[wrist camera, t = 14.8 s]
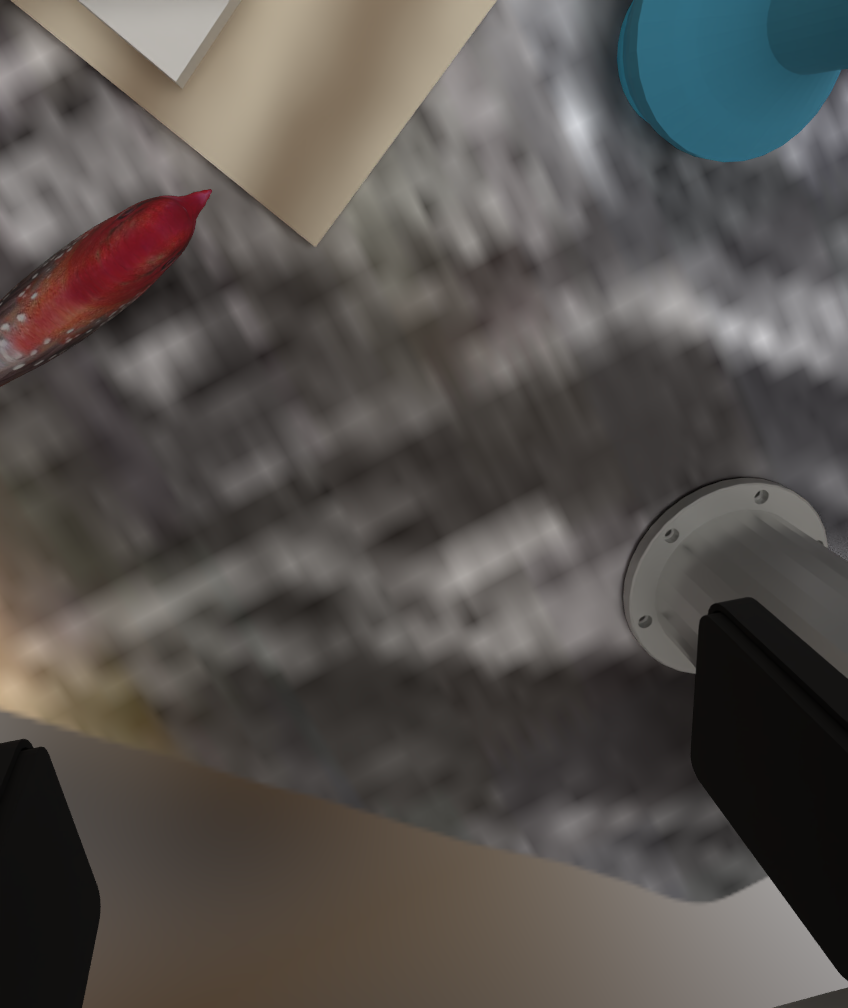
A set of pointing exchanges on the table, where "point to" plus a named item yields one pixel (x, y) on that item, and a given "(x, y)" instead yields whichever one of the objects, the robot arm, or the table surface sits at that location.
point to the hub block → (166, 29)
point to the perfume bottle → (731, 70)
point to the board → (289, 89)
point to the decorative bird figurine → (92, 280)
